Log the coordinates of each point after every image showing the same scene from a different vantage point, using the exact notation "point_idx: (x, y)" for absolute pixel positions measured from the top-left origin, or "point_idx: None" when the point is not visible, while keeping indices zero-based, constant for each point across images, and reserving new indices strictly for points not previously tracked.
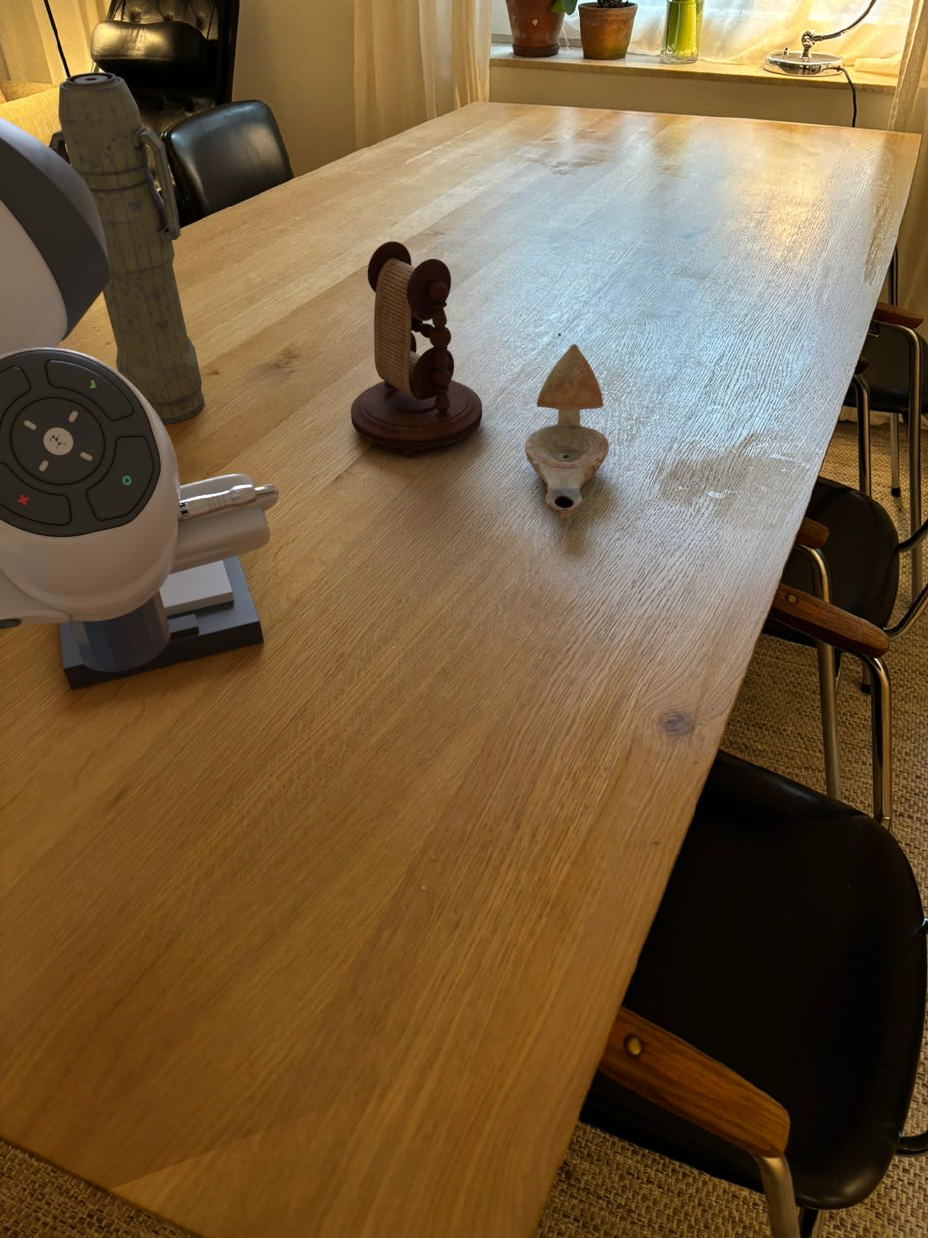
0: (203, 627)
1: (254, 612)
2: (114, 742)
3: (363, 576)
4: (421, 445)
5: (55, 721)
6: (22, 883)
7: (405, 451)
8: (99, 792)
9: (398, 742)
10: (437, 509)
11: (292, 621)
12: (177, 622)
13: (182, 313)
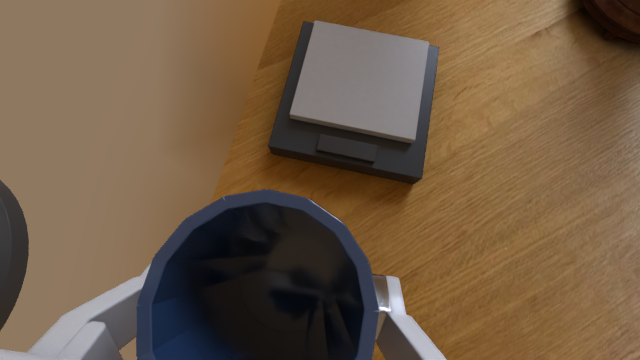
0: (378, 160)
1: (421, 166)
2: None
3: (513, 156)
4: (629, 37)
5: (251, 178)
6: None
7: (607, 34)
8: None
9: (468, 354)
10: (602, 112)
11: (442, 174)
12: (362, 148)
13: None
